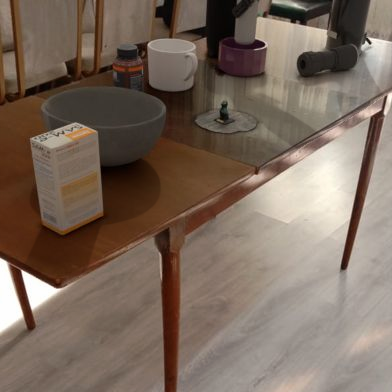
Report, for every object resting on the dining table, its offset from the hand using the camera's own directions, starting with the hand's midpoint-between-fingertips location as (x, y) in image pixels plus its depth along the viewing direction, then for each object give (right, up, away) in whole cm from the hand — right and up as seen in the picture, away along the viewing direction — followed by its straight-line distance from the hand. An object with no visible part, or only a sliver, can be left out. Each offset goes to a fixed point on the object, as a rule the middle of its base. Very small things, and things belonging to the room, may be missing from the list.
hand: (239, 12), depth 142 cm
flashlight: (+22, -10, +9) cm, 25 cm away
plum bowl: (+1, -10, +8) cm, 12 cm away
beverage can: (+1, -5, +4) cm, 7 cm away
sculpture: (-4, -31, -18) cm, 36 cm away
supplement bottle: (-24, -27, -13) cm, 38 cm away
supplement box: (-28, -58, -50) cm, 81 cm away
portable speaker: (-3, -2, +16) cm, 17 cm away
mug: (-14, -18, -3) cm, 24 cm away
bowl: (-25, -44, -34) cm, 61 cm away
